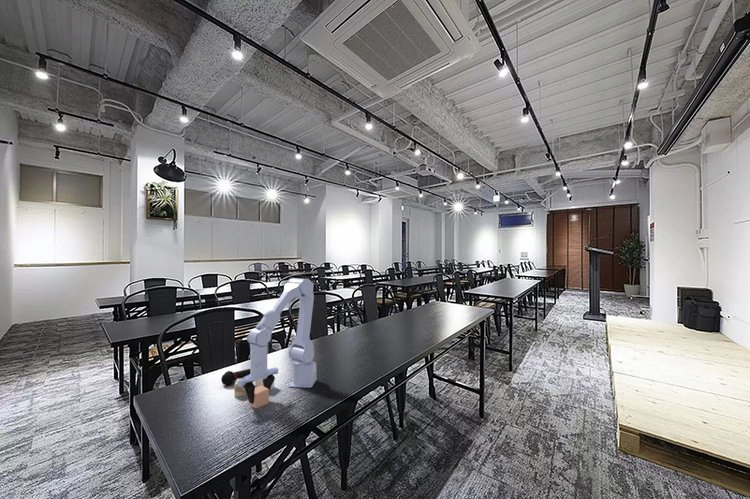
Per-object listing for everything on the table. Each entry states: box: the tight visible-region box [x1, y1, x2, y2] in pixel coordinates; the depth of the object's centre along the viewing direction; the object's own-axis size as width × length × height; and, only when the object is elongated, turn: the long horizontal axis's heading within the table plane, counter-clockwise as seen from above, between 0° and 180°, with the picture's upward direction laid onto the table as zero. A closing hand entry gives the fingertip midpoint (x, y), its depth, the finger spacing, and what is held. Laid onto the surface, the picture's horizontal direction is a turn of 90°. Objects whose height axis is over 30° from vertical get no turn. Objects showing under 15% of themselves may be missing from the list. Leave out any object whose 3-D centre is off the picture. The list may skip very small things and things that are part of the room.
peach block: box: [248, 385, 270, 409], centre depth 104 cm, size 5×5×5 cm
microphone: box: [221, 368, 250, 386], centre depth 126 cm, size 6×6×20 cm
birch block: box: [234, 378, 248, 398], centre depth 111 cm, size 5×5×5 cm
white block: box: [255, 374, 275, 391], centre depth 115 cm, size 5×5×5 cm
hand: (258, 399), depth 104 cm, fingers closed on peach block, 5 cm apart
